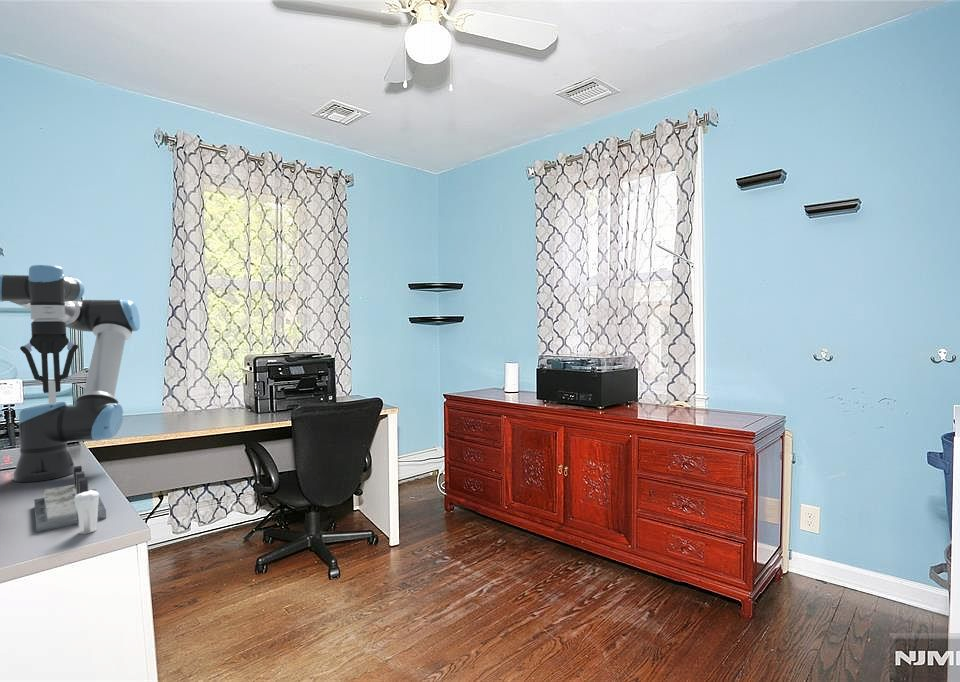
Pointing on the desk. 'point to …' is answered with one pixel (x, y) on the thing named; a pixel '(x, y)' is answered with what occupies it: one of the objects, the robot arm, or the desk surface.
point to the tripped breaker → (78, 475)
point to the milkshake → (86, 511)
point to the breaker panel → (61, 520)
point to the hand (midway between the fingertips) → (52, 403)
